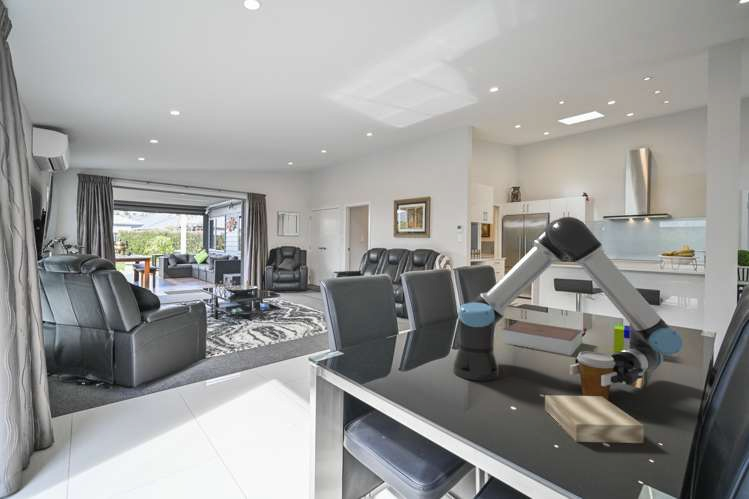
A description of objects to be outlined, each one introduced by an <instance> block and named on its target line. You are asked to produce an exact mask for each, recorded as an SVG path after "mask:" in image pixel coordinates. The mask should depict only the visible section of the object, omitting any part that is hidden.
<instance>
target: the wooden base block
mask: <svg viewBox="0 0 749 499" xmlns="http://www.w3.org/2000/svg"><path fill="white" fill-rule="evenodd" d="M544 411H546V413H547V414H548V413H549V414H550V415H551V416H552V417H553V418H554V419H555V420H556V421H557V422H558V423H559V424H558V423H557V422H556V421H555V420H554V419H553V420H554V421H555V422H556V423H557V424H558V425H559V426H560V425H561V426H562V427H561V426H560V427H561V428H562V429H563V430H564V431H565V432H566V433H567V434H568V435H569V436H570V438H572V440H574V441H575V442H577V443H614V444H615V443H616V444H617V443H622V444H623V443H627V444H628V443H629V444H644V435H645V433H644V432H645V431H644V430H645V425H644V424H642V423H640V422H639V421H638V420H637V419H635V418H634V417H632V416H631V415H629V414H628V413H626V412H625V411H624V410H622V409H621V408H619V407H617V406H616V405H615V404H614V403H612V402H610V401H609V399H608V400H606V399H605V398H603V397H602V396H584V395H549V394H547V395H544ZM550 415H549V416H550ZM551 416H550V417H551ZM552 417H551V418H552Z"/></svg>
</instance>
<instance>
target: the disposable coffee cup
mask: <svg viewBox="0 0 749 499" xmlns="http://www.w3.org/2000/svg"><path fill="white" fill-rule="evenodd" d="M576 359H578V361H579V368H580V373H579V376H580V383H581V392H582V396H602V397H603V398H605V399H606V400H608V401H609V394H610V389H611V384H610V385H607V386H601V376H602V375H605V374H608V373H612V372H613V367H614V365H615V364H616V363H615V362H614V359H613V357H611V355H609V354H605V353H602V352H597V351H590V350H588V351H587V350H586V351H580V352H579V353H578V355H577V356H576Z"/></svg>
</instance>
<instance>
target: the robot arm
mask: <svg viewBox="0 0 749 499" xmlns="http://www.w3.org/2000/svg"><path fill="white" fill-rule="evenodd" d="M567 257H568V258H569V260H570V261H571V262H572V263H573V264H578V265H579V266H580V267H581V268H582V269H583V271H585V274H587V276H588V277H590V280H592V281H593V282H594V284H596V285H597V287H598V288H599V290H601V292H602V293H603V294H604V295H605V296H606V297H607V299H608V300H609V301H610V302H611V303H612V304H613V305H614V307H615V308H616V309H617V310H618V312H620V314H621V315H622V316H623V317H624V318H625V319H626V321H627V322H628V323H629V326H630V343H629V350H625V351H621V352H617V353H616V352H613V354H611V355H610V356H611V357H613V359H614V362H615V363H616V364H615V365H614V367H613V372H612V373H608V374H605V375H602V376H601V386H607V385H610V386H611V385H612V384H618V383H620V384H621V383H625V384H626V385H629V386H631V385H632V384H633V383H635V382H636V381H637V380H638V379H643V376H644V375H643V374H644V373H646V372H649V371H653V370H657V368H659V367H660V366H662V365H663V363H664V356H663V355H666V356H672V355H676V354H677V353H679V352H680V351H682V349H683V347H684V339H683V337H682V335H681V334H680V333H678V332H677V331H676V330H674V329H673V328H671V327H670V326H669V325H668V324H667V323H666V321H665V320H664V319H663V318H662V317H661V316H660V315H659V313H658V312H657V311H656V310H655V308H653V306H652V305H650V304H649V302H648V301H647V300H646V299H645V298H644V297H643V296H642V294H641V293H640V292H639V291H638V289H637V288H635V286H634V285H633V284H632V283H631V282H630V280H629V279H628V278H627V277H626V275H625V274H623V273H622V272H621V270H620V269H619V268H618V266H616V265H615V264H614V262H613V261H612V260H611V259H610V257H608V255H607V254H606V253H605V252H604V251H603V244H602V243H601V242H600V241H599V239H598V238H596V236H595V235H594V233H593V231H591V230H590V229H589V227H588V226H587V225H586V224H585V222H584V221H582V220H580V219H578V218H576V217H573V216H572V217H571V216H565V217H564V216H563V217H560V218H558V219H555V220H553V221H551V222H550V223H548V224H547V225H546V227H545V228H544V229H543V231H542V232H540V234H538V236H537V237H536V238H534V240H533V247H532V248H531V249H530V250H528V252H527V253H526V254H524V256H523V257H522V258H520V260H518V261H517V263H516V264H514V266H513V267H511V268H510V269H509V270H508V271H507V272H506V273H505V275H503V276H502V277H501V278H500V280H499V281H498V282H496V283H495V285H493V286H492V287H491V288H490V290H488V291H487V292H481V293H479V294H478V295H477V297H475V298H474V299H473V300H472V301H471V302H467V303H463V304H461V306H459V310H458V350H457V352H456V356H455V359H454V361H453V364H452V365H453V368H452V369H453V370H452V371H453V373H454V374H455V375H457V376H458V377H461V378H462V379H466V380H470V381H477V382H478V381H479V382H487V381H494V380H496V379H498V378H499V374H500V373H499V371H500V370H499V369H500V368H499V366H498V363H497V359H496V356H495V352H494V348H495V347H494V345H495V344H494V342H495V340H494V339H495V336H494V335H495V325H497V323H498V322H500V320H501V319H503V318H504V316H505V315H506V314H505V313H506V312H505V310H506V309H507V308H508V307H509V306H510V305H511V304H513V302H514V301H515V300H516V299H517V298H518V297H519V296H520V295H521V294H522V293H524V291H526V289H527V288H528V287H530V286H532V284H533V283H534V282H535V281H536V280H537V279H538V278H539V277H541V275H542V274H543V273H544V272H545V271H546V270H547V269H548V268H549V267H550V266H552V265H553V264H554V263H561V262H562V261H563V260H564V259H566V258H567ZM574 361H575V363H574V364H570V365H569V375H570V376H575V375H578V374H579V375H580V368H579V361H578V359H577V358H575V360H574Z"/></svg>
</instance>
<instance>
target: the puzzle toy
mask: <svg viewBox="0 0 749 499" xmlns="http://www.w3.org/2000/svg"><path fill="white" fill-rule="evenodd" d="M613 330H614V331H613V353H617V352H621V351H625V350H629V343H630V325H623V324H615V325H614V329H613Z"/></svg>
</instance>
